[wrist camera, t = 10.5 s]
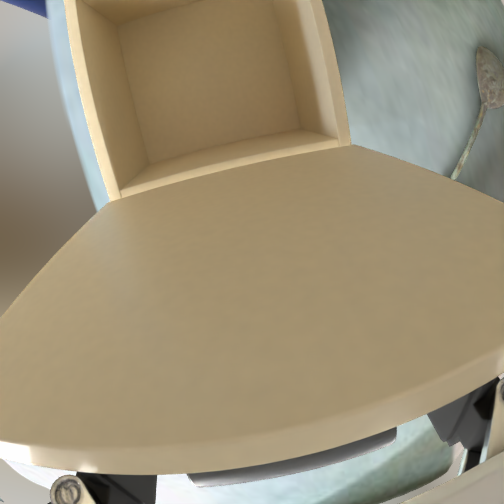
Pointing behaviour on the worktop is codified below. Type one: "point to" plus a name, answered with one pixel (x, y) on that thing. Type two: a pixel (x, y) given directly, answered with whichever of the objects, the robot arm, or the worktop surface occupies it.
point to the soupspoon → (484, 94)
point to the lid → (255, 321)
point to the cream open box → (203, 85)
